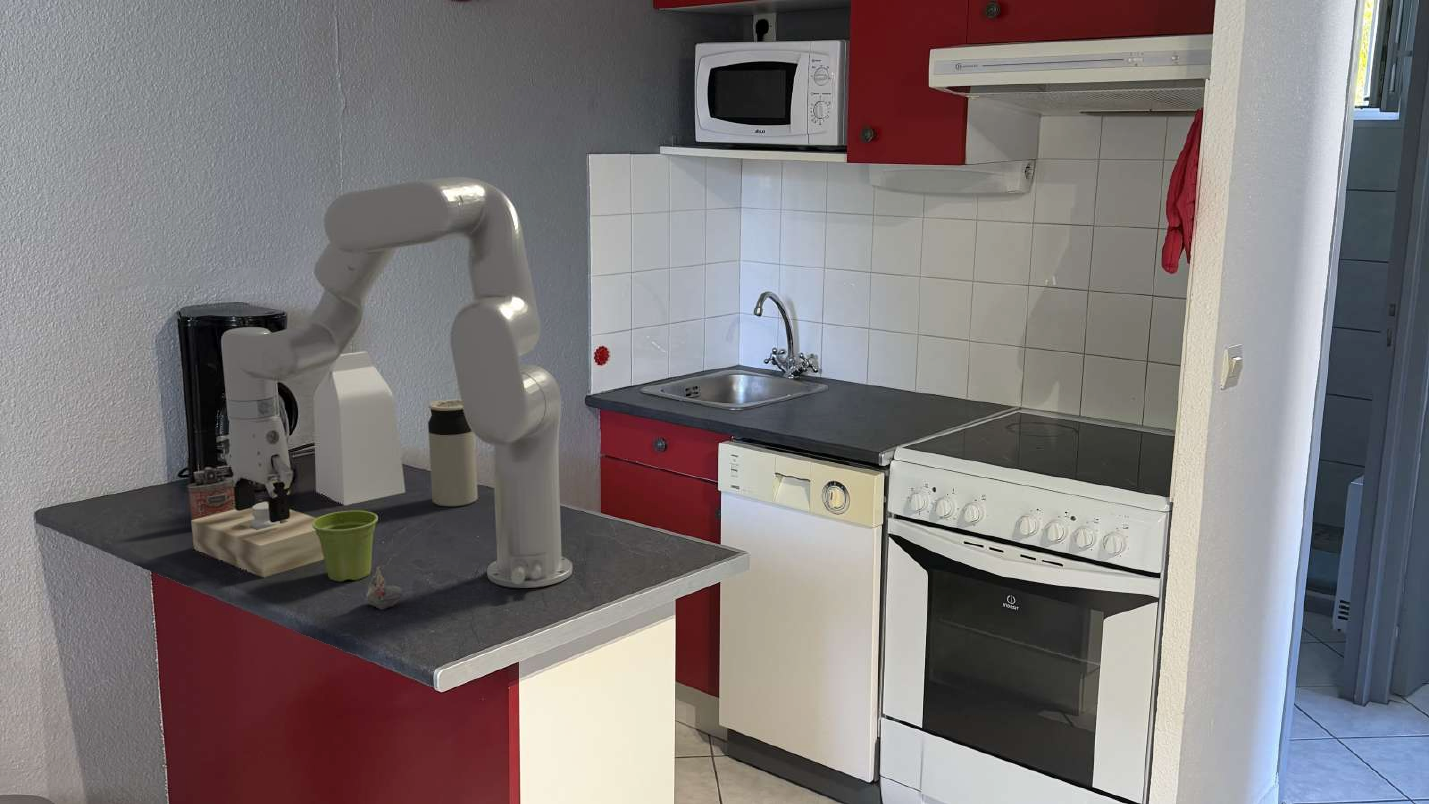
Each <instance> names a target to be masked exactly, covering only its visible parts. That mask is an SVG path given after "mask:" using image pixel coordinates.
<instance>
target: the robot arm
mask: <svg viewBox="0 0 1429 804" xmlns="http://www.w3.org/2000/svg"><path fill="white" fill-rule="evenodd" d="M323 224H324V225H323V227H324V232H325V235H326V237H327V239H328V241H329V243H328V244H327V245H326V247H325V249H324V250H323V252H322V253H321V255H320V257H319V258H317V261H316V262H315V265H314V267H313V274H314V277H315V279H316V281H317V282H318V283H319V285H320V286H321V287H322V288H323V292H322V296H321V298H320V300H319V302H318V304H317V305H316V307H315V309H314V310H313V312H312V313H311V314H310V316H309V317H308V319H307V320H306V321H305V322H304V323H303V324H301V325H297V326H294V327H289V328H286V329H282V330H279V331H275V332H272V331H271V330H269V329H268V328H265V327H260V326H259V327H257V326H255V327H254V326H247V327H237V328H232V329H228V330H226V331H224V332H223V334H222V335H221V339H220V346H221V355H222V357H221V358H222V367H223V377H224V378H223V380H224V388H225V390H224V391H225V398H226V409H227V419H228V421H229V422H228V446H229V447H228V448H229V449H228V450H229V452H228V453H226V454H225V456H224V457H225V461H226V464H227V465H228V467H229V469H228V472H229V473H230V474H229V475H230V477H232V479H231V483H232V485H233V486H234V487H233V488H234V499H235V509H236V510H237V511H241V510H245V509H249V508H252V507H253V506H254V505H256V504H257V503H256V495H255V484H254V482H255V483H257V484H262V485H264V486H265V488H266V490H267V492H268V494H269V497H267V502H268V507H269V519H270V522H273V523H274V522H278V521H282V520H286V519H289V518H290V510H291V509H290V501H289V500H290V499H289V495H291V494H290V493H291V488H292V485H293V483H292V481H293V477H294V471H293V470H292V469H291V464H290V463H291V462H290V456H289V447H288V443H287V435H286V432H285V431H286V430H285V427H284V424H283V421H282V417H281V415H280V404H279V402H280V401H279V392H278V382H289V381H294V380H297V379H299V378H303V377H305V376H308V375H311V374H314V373H317V372H320V371H324V370H325V369H327V368H328V367H329V368H330V366H331V364H332V363H334V362H335V361H336V360H337V358H338V357H339V356H340V355H341V354H343V352H344V350H345V349H346V347H347V346H348V345H349V344H350V342H351V340H352V339H353V337H354V336H355V334H356V333H357V331H358V330H359V327H360V325H361V323H362V320H363V316H364V311H365V307H366V298H367V296H368V294H369V293H370V291H371V290H372V288H373V287H374V285H375V283H376V282H377V281H378V279H379V277H380V276H381V274H382V273H383V272H384V270H385V268H386V267H387V265H388V263H389V262H390V261H391V260H392V259H393V257H394V256H395V254H396V252H397V251H398V249H399V248H404V247H410V246H417V245H422V244H423V245H424V244H429V243H437V242H441V241H446V240H452V239H456V238H464V239H465V240H467V245H468V250H467V251H468V252H467V271H468V275H469V281H470V284H471V290H472V296H473V301H470V302H469V303H468V304H467V303H466V305H465V306H463V307H462V308H461V309H460V310H459V312H458V313H456V316H455V318H454V319H453V322H452V326H451V329H450V351H451V354H452V355H451V356H452V360H453V365H454V371H455V375H456V381H457V385H458V390H459V395H460V400H461V401H462V406H463V410H464V414H465V417H466V420H467V423H468V425H469V427H470V428H471V430H472V431H473V433H474V434H475V436H476V437H477V438H478V439H479V440H481V441H482V442H483V443H485V444H489V445H491V446H493V452H492V455H493V456H492V458H493V459H492V466H493V467H492V468H493V470H492V473H493V492H494V494H493V495H494V513H495V514H494V516H495V538H496V540H495V541H496V559H497V560H495V561H493V562H492V563H490V564H489V565H488V567H487V569H486V574H487V579H489V580H490V582H491V583H494V584H496V585H498V586H503V587H505V588H506V587H507V588H514V589H515V588H516V589H528V588H529V589H530V588H533V589H534V588H541V587H547V586H551V585H554V584H558V583H561V582H563V581H564V580H567V579H568V578H569V577H570V576H571V575H572V573H573V563H572V562H571V560H569V559H568V558H566V557H564V556H562V529H561V528H562V527H561V503H560V502H561V500H560V499H561V498H560V496H561V495H560V474H559V473H560V467H559V466H560V464H559V463H560V462H559V460H560V459H559V442H560V441H559V438H560V435H559V434H560V429H561V426H560V425H561V417H562V416H561V415H562V396H561V390H560V387H559V385H558V383H557V381H556V379H555V377H554V376H553V375H552V374H551V373H550V372H549V371H547V370H546V369H544V368H543V367H540V366H539V365H535V364H521V359H520V357H521V356H524V355H525V354H527V353H529V352H530V351H532V349H534V348H535V346H536V345H537V343H538V341H539V339H540V336H541V323H540V316H539V311H538V308H537V302H536V296H535V290H534V286H533V281H532V275H531V271H530V267H529V262H528V258H527V251H526V247H525V245H526V244H525V240H524V239H525V238H524V232H523V228H522V224H521V220H520V217H519V214H518V212H517V209H516V207H515V206H514V204H513V203H512V201H511V200H510V199H509V197H508V196H507V194H505V193H504V192H502V191H501V190H500V189H499V188H497V187H496V186H494V185H492V184H490V183H488V182H486V181H483V180H481V179H476V178H472V177H471V178H470V177H465V176H452V177H440V178H431V179H430V178H429V179H421V180H415V181H409V182H408V181H407V182H403V183H399V184H392V185H388V186H387V185H386V186H381V187H376V188H369V189H365V190H364V189H363V190H357V191H356V190H355V191H348V192H345V193H342V194H340V195H338V196H337V197H336V198H335V199H333V201H332V202H330V204H329V206H328V208H327V209H326V212H325V213H324V221H323ZM275 483H277V484H276V486H274V484H275ZM289 509H290V510H289Z"/></svg>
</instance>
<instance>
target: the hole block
mask: <svg viewBox="0 0 1429 804" xmlns="http://www.w3.org/2000/svg"><path fill="white" fill-rule="evenodd" d="M262 503H268V501H262V502H259V503H255V504H256V505H257V504H262ZM289 510H290V518H289V519H286V520H282V521H280V524H278V525H274V526H270V527H267V528H263V529H259V530H255V529H252V528H250V523H251V521H252V520H253V519H255V518H254V517H253V514H252V508H249V509H245V510H241V511H237V510H236V509H234V510H230V511H226V512H222V513H218V514H215V515H211V516H207V517H203V518H199V519H195V520H192V519H191V520H190V522H191V523H192V527H191V532H192V542H193V550H194V549H195V550H197V551H199V552H204V553H206V554H208V555H210V556H212V557H215V558H217V559H219V560H218V561H220V560H223V561H225V562H228V563H230V564H232V565H235V566H236V567H235V566H234V567H235V568H238V567H239V568H238V569H240V568H241V569H240V570H243V569H244V570H243V571H245V570H247V571H246V572H247V573H250V572H251V574H253V575H256V576H258V577H260V578H263V577H264V578H267V577H270V576H274V575H276V574H280V573H283V572H288V571H291V570H293V569H296V568H297V569H298V568H300V567H304V566H306V565H309V564H313V563H317V562H320V561H324V556H323V552H322V548H321V544H320V540H319V537H318V536H317V534H316V530H315V529H314V528H313V527H312V522H313V521H314V520H315V519H316V518H317V517H315V516H311V515H308V514H306V513H302V512H299V511H295V510H293V509H290V508H289ZM197 551H196V552H197ZM199 552H198V553H199ZM210 556H209V557H210ZM212 557H211V558H212ZM215 558H214V559H215ZM217 559H216V560H217ZM225 562H224V563H225ZM230 564H229V565H230ZM232 565H231V566H232Z"/></svg>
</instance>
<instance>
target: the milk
mask: <svg viewBox="0 0 1429 804" xmlns="http://www.w3.org/2000/svg"><path fill="white" fill-rule="evenodd" d="M313 394H314V395H313V419H314V421H313V423H314V425H313V426H314V427H313V428H314V455H315V456H314V457H315V458H314V459H315V462H314V464H315V492H316V493H317V492H318V493H317V494H319V493H320V494H319V495H321V494H323V495H325V496H327V497H329V498H328V499H330V498H331V499H330V500H332V501H334V502H336V503H338V502H339V503H338V504H340V503H341V505H342V504H343V506H349V505H353V503H354V504H357V503H363V502H366V501H367V502H368V501H371V500H376V499H381V498H385V497H390V496H395V495H399V494H404V493H406V487H405V479H404V477H405V476H404V470H403V462H402V454H401V447H400V438H399V437H400V435H399V429H398V423H397V414H396V413H397V412H396V405H395V398H394V394H393V392H392V389H391V388H390V386H389V385H388V383H387V382H386V381H385V379H384V378H383V377H382V375H381V374H380V372H379V371H378V369H377V368H376V367H375V365H374V363H373V360H372V359H371V355H370V354H369V352H368V351H365V350H364V351H357V352H349V353H341V355H340V356H339V357H338V358H337V360H336V361H335V362H334V363H332V364H331V365H330V366H329V369H328V371H327V373H326V374H325V376H324V377H323V379H322V380H321V382H320V383H319V384H318V386H317V388H316V390H315V391H314V393H313ZM323 495H322V496H323ZM325 496H324V497H325ZM327 497H326V498H327Z"/></svg>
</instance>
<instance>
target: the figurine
mask: <svg viewBox="0 0 1429 804" xmlns="http://www.w3.org/2000/svg"><path fill="white" fill-rule="evenodd" d="M381 571H382V568H381V566H379V565H376V571H375V574H374V575H373V576H372V578H371V581H370V583H369V585H368V587H367V589H366V590H367V591H368V592H367V593H366V595H365V596H366V597H365V601H366V600H367V603H366V604H367V605H369V606H372V607H375V608H377V609H379V610H381V611H383V610H385V609H389V608H392V607H394V606H396V604H397V603H398V602H399V600H400V599H401V598H402V597H403V596H404V595H403V589H402V587H400V586H398V585H397V586H396V585H387V583H386V582H385V579H384V578H383V576H382V574H381ZM374 578H376V580H375V581H373V579H374ZM372 581H373V582H372Z"/></svg>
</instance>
